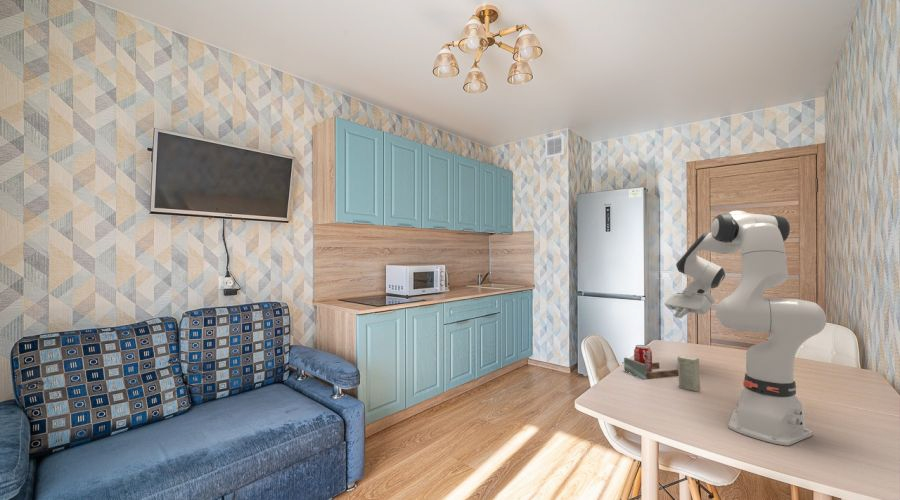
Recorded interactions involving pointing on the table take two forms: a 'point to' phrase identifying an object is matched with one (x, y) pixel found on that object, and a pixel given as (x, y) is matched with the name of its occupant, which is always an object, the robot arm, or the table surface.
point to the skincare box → (689, 373)
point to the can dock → (641, 372)
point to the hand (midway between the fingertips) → (677, 316)
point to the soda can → (643, 356)
